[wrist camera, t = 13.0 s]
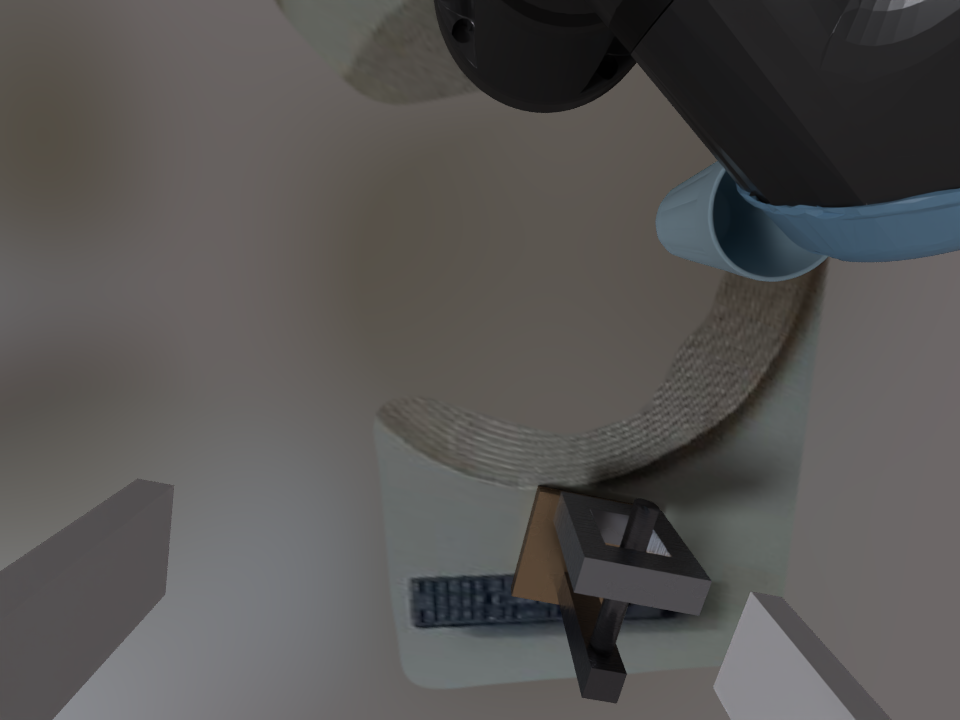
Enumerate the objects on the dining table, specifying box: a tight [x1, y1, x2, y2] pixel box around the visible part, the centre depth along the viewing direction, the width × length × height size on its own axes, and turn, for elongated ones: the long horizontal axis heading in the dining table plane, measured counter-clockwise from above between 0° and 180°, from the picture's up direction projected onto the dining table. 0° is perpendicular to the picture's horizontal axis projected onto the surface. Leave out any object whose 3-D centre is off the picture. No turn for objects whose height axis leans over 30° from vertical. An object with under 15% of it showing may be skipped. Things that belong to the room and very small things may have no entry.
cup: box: [656, 161, 828, 281], centre depth 30 cm, size 8×8×10 cm
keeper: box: [511, 486, 660, 703], centre depth 35 cm, size 14×10×10 cm
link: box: [553, 491, 712, 616], centre depth 33 cm, size 2×8×8 cm, turn 78°
